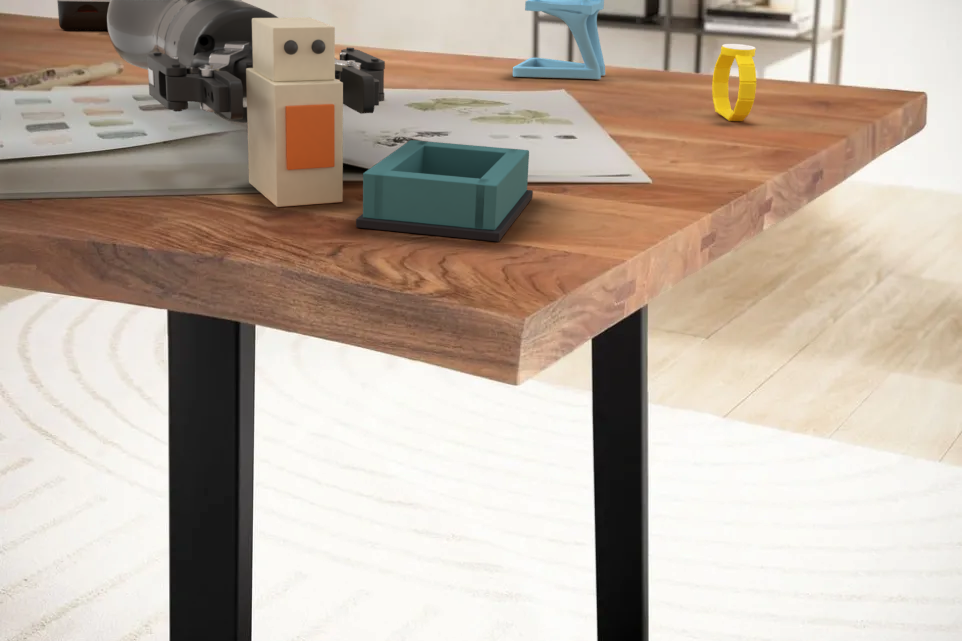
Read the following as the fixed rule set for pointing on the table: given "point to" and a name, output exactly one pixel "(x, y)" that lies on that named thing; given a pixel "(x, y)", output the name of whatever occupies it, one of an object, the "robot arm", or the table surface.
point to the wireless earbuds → (83, 14)
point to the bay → (446, 190)
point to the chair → (578, 10)
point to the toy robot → (295, 112)
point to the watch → (746, 80)
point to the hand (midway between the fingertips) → (304, 98)
